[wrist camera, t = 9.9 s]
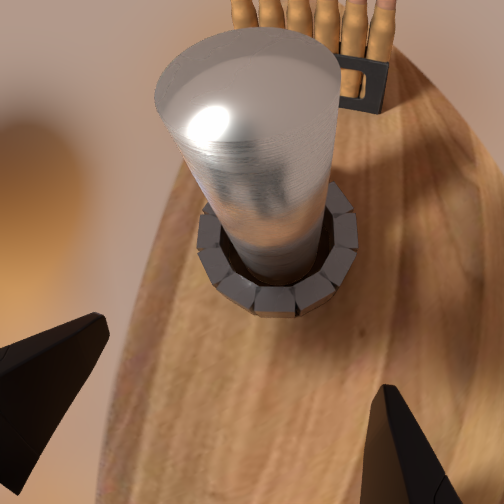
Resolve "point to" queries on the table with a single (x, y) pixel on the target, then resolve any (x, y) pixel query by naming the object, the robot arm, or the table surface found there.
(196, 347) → the table surface
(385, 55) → the ammunition clip
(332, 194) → the ring
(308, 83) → the silver tall cylinder
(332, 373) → the table surface
